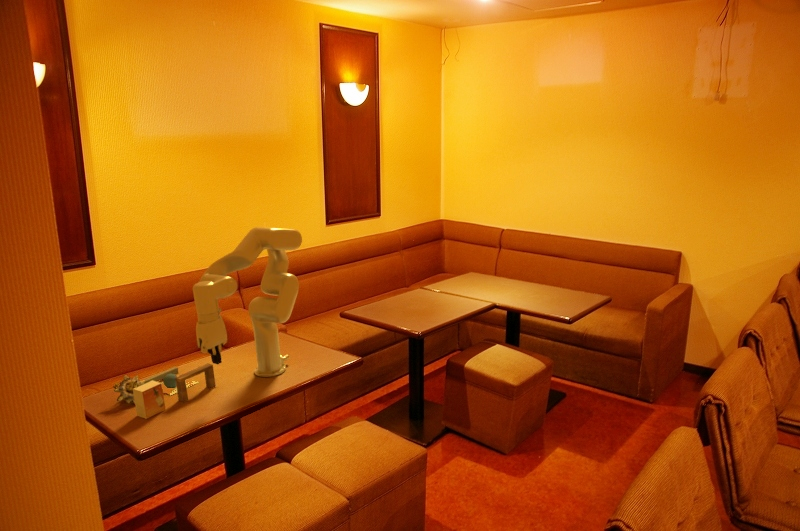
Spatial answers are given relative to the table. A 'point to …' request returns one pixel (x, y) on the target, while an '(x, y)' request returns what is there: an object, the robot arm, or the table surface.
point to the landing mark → (186, 387)
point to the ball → (169, 380)
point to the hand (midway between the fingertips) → (217, 362)
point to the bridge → (181, 379)
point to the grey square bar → (162, 375)
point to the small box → (149, 399)
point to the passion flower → (128, 388)
